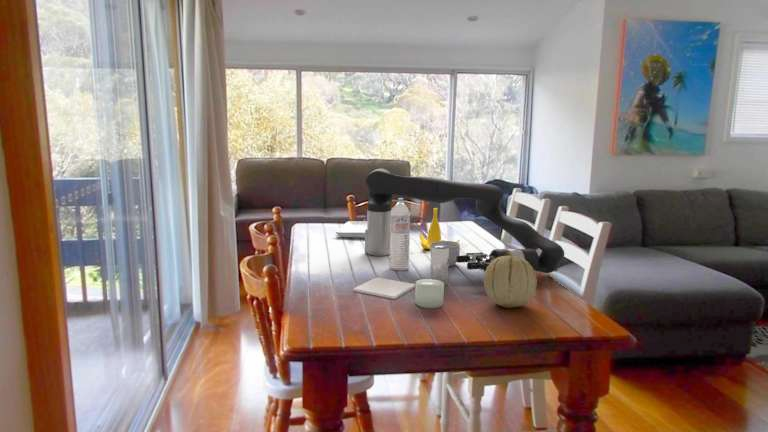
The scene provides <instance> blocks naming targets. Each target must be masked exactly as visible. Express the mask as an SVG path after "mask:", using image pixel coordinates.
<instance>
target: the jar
mask: <svg viewBox="0 0 768 432" xmlns="http://www.w3.org/2000/svg"><path fill="white" fill-rule="evenodd" d="M414 292H415V294H414V303H415V305H416V306H418V307H421V308H425V309H437V308H438V309H439V308H441V307H443V306H444V295H445V286H444V283H443V282H442V281H439V280H434V279H430V278H422V279H418V280H415V290H414Z"/></svg>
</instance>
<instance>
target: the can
mask: <svg viewBox="0 0 768 432" xmlns="http://www.w3.org/2000/svg"><path fill="white" fill-rule="evenodd" d="M448 264H449V247H448V246H446V245H433V246H431V254H430V278H429V279H434V280H439V281H442V282H443V283H444V287H446V286H448V283H449V267H448Z"/></svg>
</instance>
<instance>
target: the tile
mask: <svg viewBox="0 0 768 432" xmlns="http://www.w3.org/2000/svg"><path fill="white" fill-rule="evenodd" d="M414 288H416V283H411V282H405V281H399V280H396V279H395V280H394V279H388V278H384V277H377V276H376V277H375V278H373V279H370V280H368V281H365V282H364V283H362V284H359V285H358V286H356V287H354V288H353V292H357V293H361V294H366V295H367V294H368V295H373V296H377V297H382V298H387V299H393V300H396V299H397V298H399V297H401V296H402V295H403V294H404V295H405V293H408V292H409V291H411V290H412V289H414Z"/></svg>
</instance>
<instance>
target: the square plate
mask: <svg viewBox="0 0 768 432" xmlns="http://www.w3.org/2000/svg"><path fill="white" fill-rule="evenodd" d="M365 229H367V220H366V221H365V220H362V221H361V220H359V221H358V220H357V221H356V220H355V221H353V220H348V221H347V222H345V223H344V224H343V225H342V226H340V228H338V229H337V230H336V232H335V233H336V235H338V236H339V237H343V238H351V239H365Z"/></svg>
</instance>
